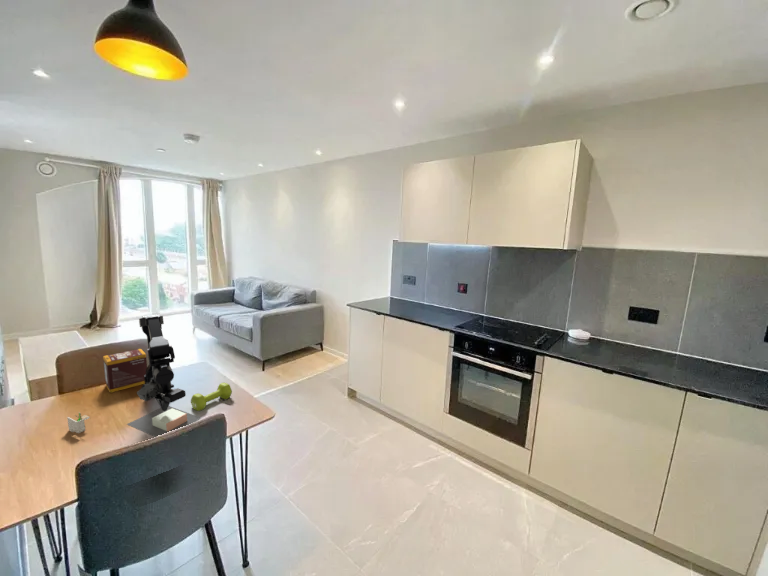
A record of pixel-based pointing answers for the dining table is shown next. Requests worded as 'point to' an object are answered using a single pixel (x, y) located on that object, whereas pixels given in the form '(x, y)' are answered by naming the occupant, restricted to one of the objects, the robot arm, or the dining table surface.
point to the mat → (147, 427)
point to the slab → (169, 419)
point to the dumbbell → (210, 396)
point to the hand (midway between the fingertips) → (164, 410)
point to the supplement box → (124, 369)
